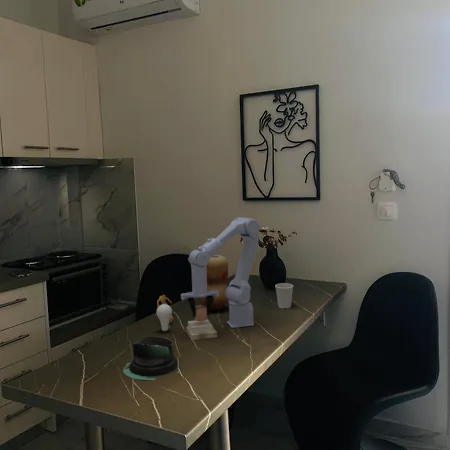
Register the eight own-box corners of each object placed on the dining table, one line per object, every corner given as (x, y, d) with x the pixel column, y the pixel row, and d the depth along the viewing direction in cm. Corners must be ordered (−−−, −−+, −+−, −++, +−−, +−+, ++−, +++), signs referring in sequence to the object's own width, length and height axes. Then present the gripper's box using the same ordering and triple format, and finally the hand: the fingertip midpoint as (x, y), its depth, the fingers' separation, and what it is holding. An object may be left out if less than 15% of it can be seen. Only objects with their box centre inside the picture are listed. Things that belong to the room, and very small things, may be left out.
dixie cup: (294, 309, 212) (294, 287, 211) (276, 309, 213) (275, 287, 211) (292, 303, 221) (292, 282, 219) (274, 304, 221) (274, 283, 220)
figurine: (165, 327, 193) (163, 298, 192) (154, 324, 197) (152, 296, 195) (178, 321, 200) (177, 293, 199) (167, 318, 204) (166, 291, 202)
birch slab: (211, 330, 190) (210, 324, 190) (217, 338, 181) (217, 332, 180) (186, 333, 188) (186, 326, 187) (191, 341, 178) (191, 335, 178)
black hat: (189, 356, 163) (188, 330, 162) (175, 382, 144) (174, 353, 143) (135, 354, 166) (133, 329, 165) (113, 380, 147) (112, 351, 146)
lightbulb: (175, 329, 190) (174, 302, 189) (168, 334, 184) (167, 307, 183) (161, 328, 192) (160, 301, 191) (154, 333, 186) (153, 306, 185)
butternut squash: (220, 315, 206) (218, 259, 203) (194, 311, 213) (192, 257, 210) (235, 307, 218) (234, 253, 215) (210, 303, 225) (209, 251, 221)
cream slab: (207, 325, 189) (207, 319, 188) (212, 331, 181) (212, 325, 181) (188, 327, 187) (187, 321, 186) (192, 334, 179) (191, 327, 179)
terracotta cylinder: (205, 316, 186) (204, 304, 186) (208, 320, 182) (208, 307, 181) (193, 318, 185) (192, 305, 184) (196, 322, 180) (196, 309, 180)
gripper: (182, 285, 176) (184, 320, 177) (220, 282, 180) (221, 316, 181) (179, 281, 183) (180, 315, 184) (215, 278, 186) (216, 311, 188)
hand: (200, 315), depth 183 cm, fingers closed on terracotta cylinder, 5 cm apart
